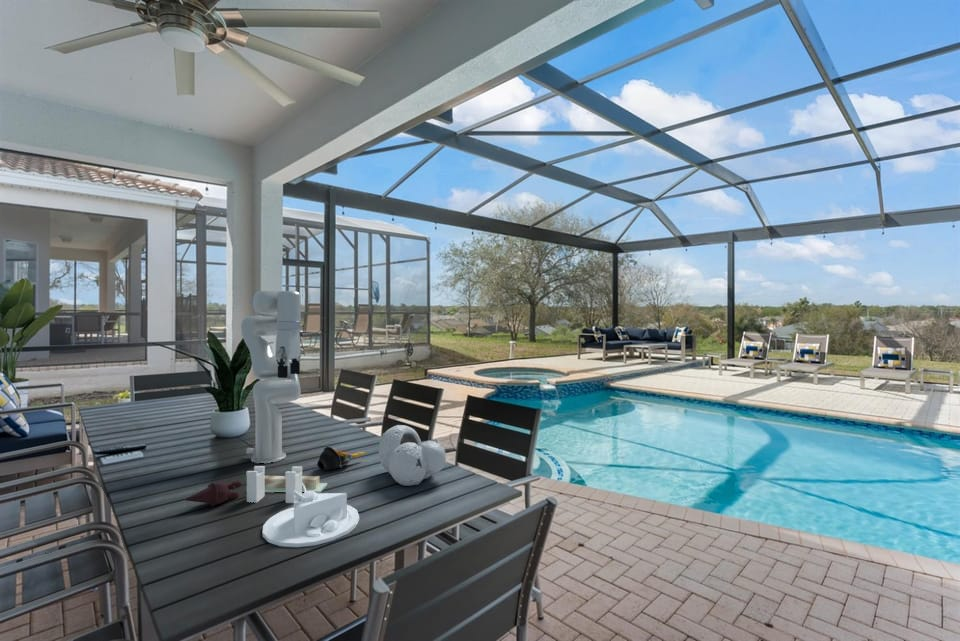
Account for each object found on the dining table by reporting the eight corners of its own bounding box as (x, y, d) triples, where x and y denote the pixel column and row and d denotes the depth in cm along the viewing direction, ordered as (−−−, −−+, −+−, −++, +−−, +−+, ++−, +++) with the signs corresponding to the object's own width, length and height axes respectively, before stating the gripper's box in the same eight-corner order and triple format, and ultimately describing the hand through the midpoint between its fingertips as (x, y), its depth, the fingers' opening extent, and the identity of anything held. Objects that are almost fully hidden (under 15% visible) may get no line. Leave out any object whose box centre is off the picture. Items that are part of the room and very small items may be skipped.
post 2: (285, 503, 139) (285, 472, 139) (293, 496, 145) (292, 466, 144) (295, 503, 139) (295, 472, 139) (302, 496, 145) (302, 466, 144)
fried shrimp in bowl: (308, 458, 168) (344, 432, 183) (323, 483, 169) (357, 455, 184) (321, 453, 163) (357, 427, 177) (336, 479, 164) (371, 451, 178)
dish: (261, 556, 109) (260, 510, 109) (264, 514, 132) (264, 475, 132) (365, 537, 119) (365, 494, 119) (351, 501, 142) (351, 464, 142)
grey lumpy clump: (399, 476, 142) (411, 410, 153) (360, 484, 159) (374, 423, 170) (450, 491, 153) (458, 428, 164) (408, 497, 169) (419, 439, 181)
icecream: (191, 494, 130) (246, 484, 141) (184, 482, 134) (237, 473, 146) (187, 517, 130) (242, 505, 142) (180, 503, 135) (233, 493, 146)
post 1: (246, 502, 140) (246, 471, 139) (255, 495, 145) (255, 466, 145) (256, 502, 139) (256, 472, 139) (264, 495, 145) (264, 466, 145)
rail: (255, 487, 150) (255, 478, 150) (260, 484, 153) (260, 475, 153) (316, 488, 149) (316, 479, 149) (319, 485, 152) (319, 476, 152)
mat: (246, 492, 148) (246, 490, 148) (257, 484, 155) (257, 482, 155) (319, 493, 147) (319, 491, 147) (327, 484, 154) (327, 483, 154)
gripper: (289, 325, 167) (289, 372, 167) (266, 327, 150) (266, 379, 150) (309, 326, 167) (309, 372, 167) (288, 327, 150) (288, 379, 150)
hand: (289, 375), depth 159 cm, fingers open, 9 cm apart
